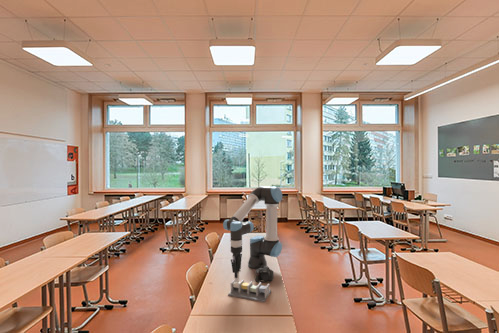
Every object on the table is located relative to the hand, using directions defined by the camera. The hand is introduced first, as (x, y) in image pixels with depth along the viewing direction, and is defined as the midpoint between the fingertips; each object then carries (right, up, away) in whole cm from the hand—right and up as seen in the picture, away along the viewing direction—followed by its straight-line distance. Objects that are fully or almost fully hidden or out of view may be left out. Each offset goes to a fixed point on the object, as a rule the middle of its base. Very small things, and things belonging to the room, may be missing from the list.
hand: (236, 281), depth 167 cm
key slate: (+17, -3, -7) cm, 18 cm away
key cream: (0, -3, 0) cm, 3 cm away
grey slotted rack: (+9, -6, -3) cm, 11 cm away
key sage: (+11, -3, -4) cm, 13 cm away
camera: (+19, -6, +15) cm, 25 cm away
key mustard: (+6, -3, -2) cm, 7 cm away
